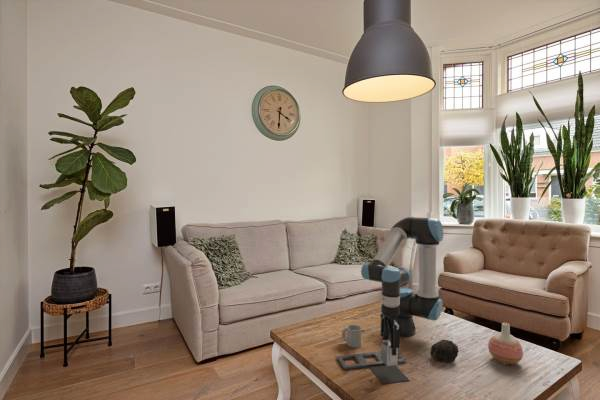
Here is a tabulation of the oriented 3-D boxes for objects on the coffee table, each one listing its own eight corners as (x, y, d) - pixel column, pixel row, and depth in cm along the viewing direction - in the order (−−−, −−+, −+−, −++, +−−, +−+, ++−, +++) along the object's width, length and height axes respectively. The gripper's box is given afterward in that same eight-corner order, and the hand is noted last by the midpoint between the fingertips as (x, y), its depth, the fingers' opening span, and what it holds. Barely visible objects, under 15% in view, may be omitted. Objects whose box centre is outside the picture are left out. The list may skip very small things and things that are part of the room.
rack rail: (395, 352, 159) (395, 349, 158) (405, 363, 149) (405, 360, 149) (336, 358, 152) (336, 356, 152) (343, 370, 142) (344, 367, 142)
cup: (360, 349, 161) (360, 331, 161) (340, 346, 165) (340, 328, 164) (362, 342, 168) (362, 325, 168) (343, 339, 171) (343, 323, 171)
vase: (511, 372, 142) (512, 332, 141) (481, 358, 154) (482, 321, 153) (529, 365, 148) (530, 326, 147) (498, 351, 160) (499, 316, 159)
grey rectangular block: (391, 358, 142) (392, 340, 142) (397, 364, 137) (397, 346, 137) (381, 360, 141) (381, 341, 141) (386, 366, 136) (386, 347, 136)
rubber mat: (395, 365, 146) (395, 364, 146) (409, 380, 135) (409, 379, 135) (370, 368, 144) (370, 367, 144) (382, 384, 132) (382, 383, 132)
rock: (425, 355, 154) (429, 335, 154) (442, 353, 159) (446, 334, 158) (441, 367, 145) (446, 346, 144) (459, 366, 150) (464, 345, 149)
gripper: (373, 298, 146) (372, 349, 147) (392, 313, 129) (391, 370, 129) (388, 297, 148) (387, 347, 149) (409, 311, 130) (408, 368, 131)
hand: (389, 358), depth 139 cm, fingers closed on grey rectangular block, 5 cm apart
